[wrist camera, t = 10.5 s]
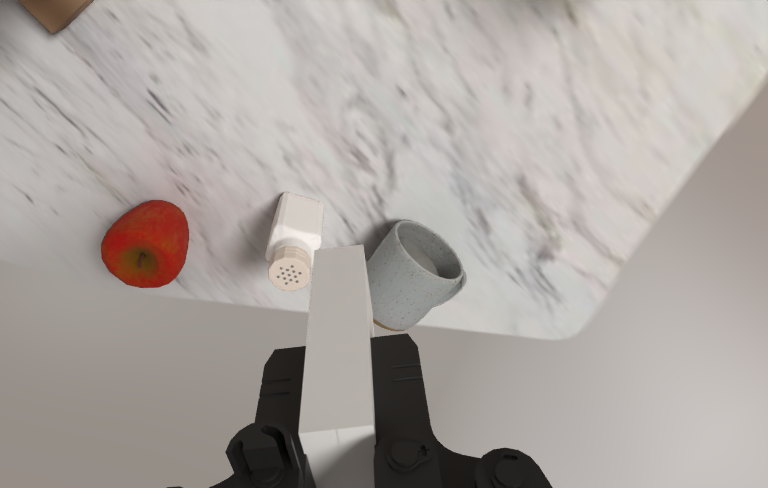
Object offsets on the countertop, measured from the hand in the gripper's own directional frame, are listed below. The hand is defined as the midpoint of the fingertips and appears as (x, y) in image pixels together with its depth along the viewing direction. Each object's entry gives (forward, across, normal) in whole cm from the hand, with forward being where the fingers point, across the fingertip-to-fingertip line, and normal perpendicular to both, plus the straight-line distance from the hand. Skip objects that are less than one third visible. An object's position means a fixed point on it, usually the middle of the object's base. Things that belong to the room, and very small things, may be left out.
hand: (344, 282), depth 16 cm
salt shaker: (+29, -6, -13) cm, 32 cm away
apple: (+29, -18, -12) cm, 36 cm away
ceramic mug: (+29, +4, -20) cm, 35 cm away
